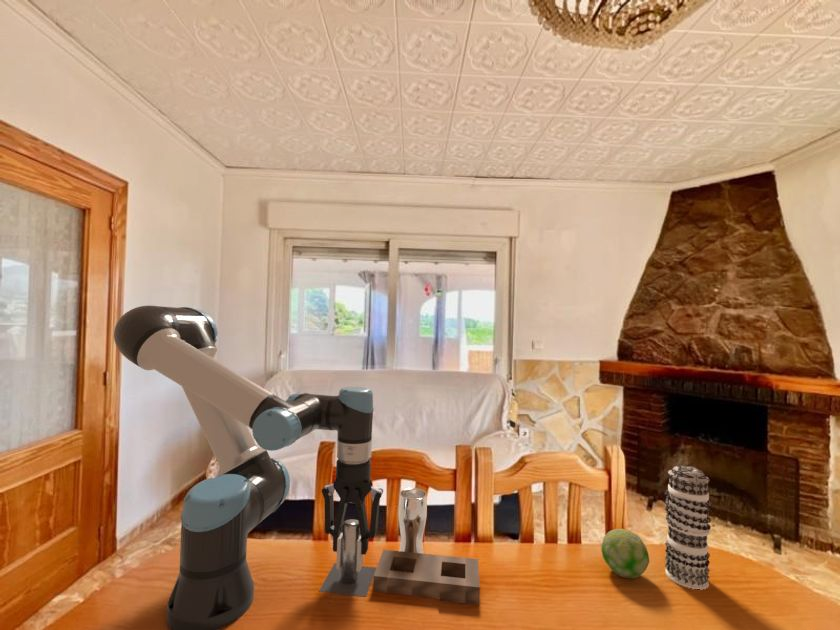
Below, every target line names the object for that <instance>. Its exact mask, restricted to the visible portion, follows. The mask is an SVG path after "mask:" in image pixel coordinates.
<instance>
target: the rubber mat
mask: <svg viewBox="0 0 840 630" xmlns="http://www.w3.org/2000/svg"><path fill="white" fill-rule="evenodd" d="M376 568H377V567H375V566H373V567H372V566H364V565H362V568H361V570H360V572H358V579H357V581H356V582H355V583H353V584H344V583H342V582H341V568H340V570H337V569H336V562H334V563H333V564H332V567H331V568H330V570H329V572H328V574H327V576H326V577H325V579H324V581H323V583H322V585H321V587H320V589H319V590H318V592H319V593H320V592H321V593H326V594H327V593H329V594H337V595H344V596H345V595H346V596H353V597H354V596H355V597H360V598H361V597H362V598H367V595H368V593H369V590H370V587H371V586H372V585H371V584H372V582H373V579H374V573H375V571H376Z"/></svg>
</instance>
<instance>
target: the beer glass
mask: <svg viewBox="0 0 840 630" xmlns="http://www.w3.org/2000/svg"><path fill="white" fill-rule="evenodd" d="M427 499H428V498H427V491H425V490H424V489H421V488H419V487H418V488H416V487H408V488H404V489H402V490H401V491H400V492H399V501H398V525H399V532H400V545H399V550H398V551H403V552H413V553H423V554H424V548H423V546H424V545H423V538H424V531H425V528H426V522H427V516H428V506H427V505H428V500H427Z"/></svg>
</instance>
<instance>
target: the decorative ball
mask: <svg viewBox="0 0 840 630" xmlns="http://www.w3.org/2000/svg"><path fill="white" fill-rule="evenodd" d="M601 541H602V542H601V547H600V549H601V553H602V558H603V560H604V562H605V563H606V565H607V566H608V568H609V569H610V570H611V571H612V572H614V573H615V574H616V575H618V576H620V577H621V578H624V579H625V578H627V579H628V578H629V579H636V578H638V577H641V576H643V573H645V571H646V570H647V568H648V566H649V564H650V556H649V552H648V551H649V550H648V548H647V547H646V546H647V545H645V543H644V541H643V540H642V538H641V537H640V536H639V535H638V534H636V533H635V532H632V531H631V530H628V529H625V528H614V529H612V530H609V531H608V532H607V533H606V534H605V536H603V538H602V540H601Z"/></svg>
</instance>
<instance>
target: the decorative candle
mask: <svg viewBox="0 0 840 630" xmlns="http://www.w3.org/2000/svg"><path fill="white" fill-rule="evenodd" d="M667 473H668V475H669V477H668V479H669V480H668V481H669V482H668V484H667V489H666V490H665V492H664V496H665V498H666V499H665V502H664V504H665V505H666V506H665V509H664V510H665V513H666V515H665V516H666V517H665V521H666V522H665V523H666V525H667V527H668V528H667V532H668V533H667V534H666V536H667V537H666V541H665V546H666V549H664V551H665V553H666V555H664V560H665V563H664V566H665V569H664V572H665V575H666V577H667V578H669V580H670V581H672V582H674V583H675V584H677V585H679V586H681V585H682V587H683V586H684V587H683V588H686V587H688V588H687V589H690V588H692V589H691V590H694V589H700V590H699V591H704V590H707V589H708V588H709V586H710V583H709V579H710V576H709V574H710V571H711V569H710V568H709V565H710V564H711V562H710V560H709V559H710V557H711V554H710V553H709V545H708V536H709V535H710V533H711V531H710V530H711V528H712V526H711V525H710V524H709V523H711V520H712V519H711V518H710V517H709V515H711V514H712V513H713V511H712V509H710V508H711V507H712V506H713V504H712V503H713V502H711V501H710V500H709V499H710V493H709V490H708V489H709V482H710V481H711V480H710V478H709V477H708V476H706V474H705V473H704V472H703V471H702V470H700V469H699V468H696V467H693V466H690V465H689V466H688V465H675V466H674V467H672V469H669V470H668V471H667ZM706 588H707V589H706ZM703 589H704V590H703Z"/></svg>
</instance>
